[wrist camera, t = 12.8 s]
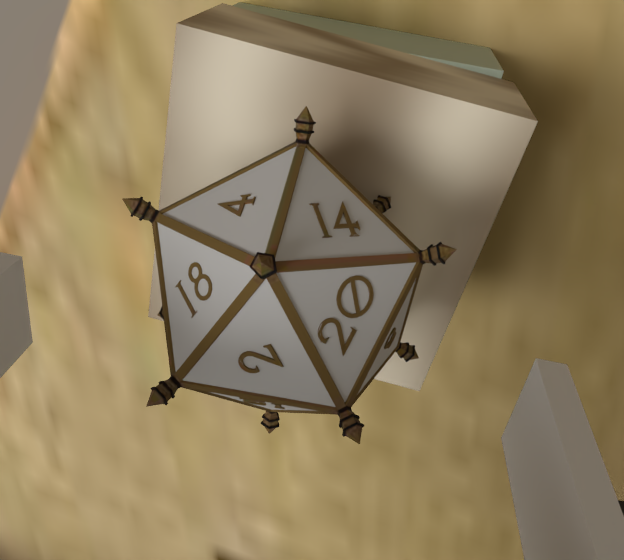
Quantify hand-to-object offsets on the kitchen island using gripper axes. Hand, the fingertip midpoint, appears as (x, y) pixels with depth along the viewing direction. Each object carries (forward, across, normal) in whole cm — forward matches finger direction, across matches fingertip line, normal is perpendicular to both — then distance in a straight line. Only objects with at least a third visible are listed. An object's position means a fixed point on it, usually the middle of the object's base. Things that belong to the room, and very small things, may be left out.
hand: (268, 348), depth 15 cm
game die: (+6, 0, +1) cm, 6 cm away
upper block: (+11, 0, 0) cm, 11 cm away
